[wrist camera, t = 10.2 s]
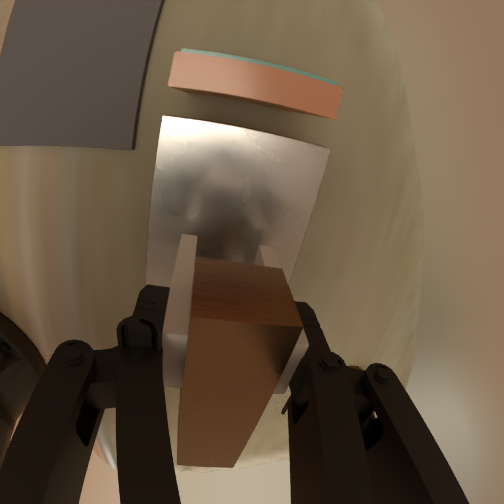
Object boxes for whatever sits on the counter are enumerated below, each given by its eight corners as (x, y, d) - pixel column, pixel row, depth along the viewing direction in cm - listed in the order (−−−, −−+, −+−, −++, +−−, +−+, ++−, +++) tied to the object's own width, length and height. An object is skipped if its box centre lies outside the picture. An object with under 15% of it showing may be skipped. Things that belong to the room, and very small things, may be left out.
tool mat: (-5, 144, 16) (-9, 146, 15) (58, -82, 6) (55, -85, 5) (133, 148, 18) (131, 150, 18) (205, -101, 8) (205, -105, 8)
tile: (186, 92, 17) (167, 85, 10) (191, 68, 16) (176, 47, 9) (290, 111, 18) (335, 119, 11) (295, 88, 18) (343, 83, 11)
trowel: (257, 356, 21) (277, 466, 13) (147, 345, 19) (130, 458, 12) (325, 146, 14) (435, 208, 6) (165, 115, 13) (93, 138, 5)
